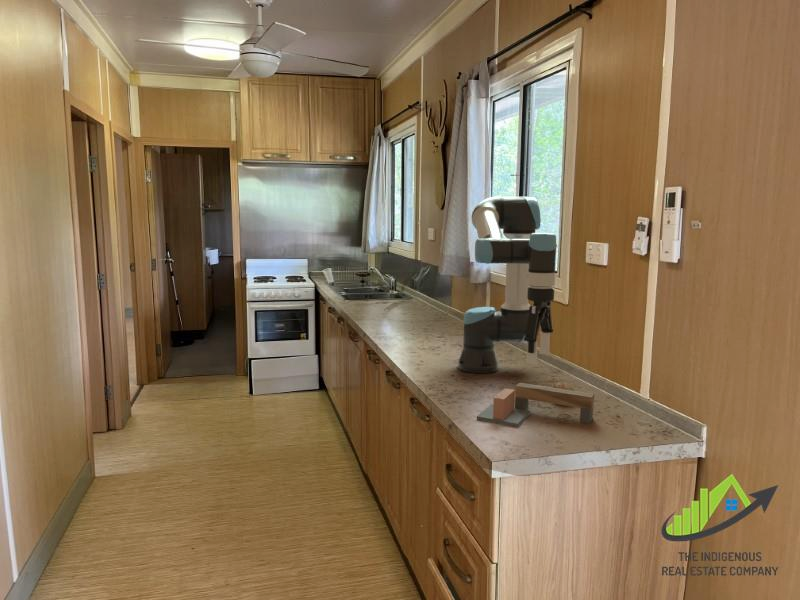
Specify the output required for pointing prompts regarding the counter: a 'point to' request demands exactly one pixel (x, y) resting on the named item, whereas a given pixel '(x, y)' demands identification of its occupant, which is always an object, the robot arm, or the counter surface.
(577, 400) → the rod
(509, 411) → the fulcrum
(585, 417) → the grey blocks
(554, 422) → the counter surface
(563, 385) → the mushroom
